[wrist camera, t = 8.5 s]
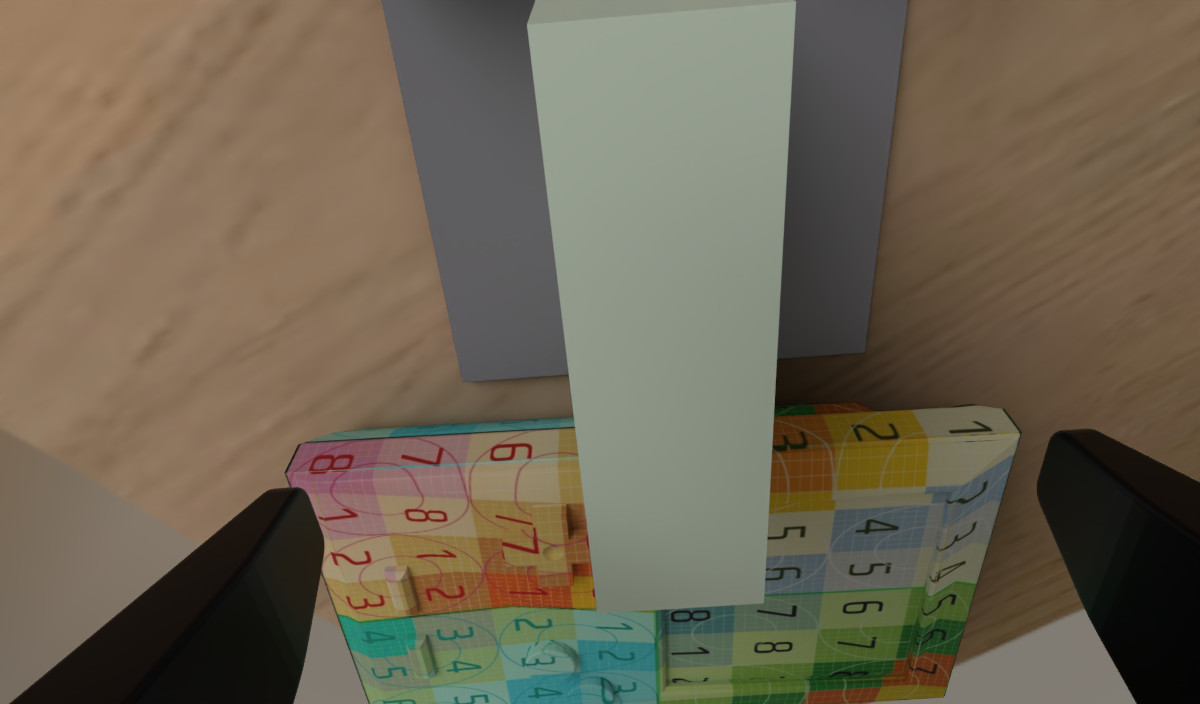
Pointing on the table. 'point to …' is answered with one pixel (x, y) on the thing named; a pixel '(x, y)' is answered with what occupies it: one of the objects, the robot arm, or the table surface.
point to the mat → (519, 195)
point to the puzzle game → (672, 636)
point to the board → (669, 280)
